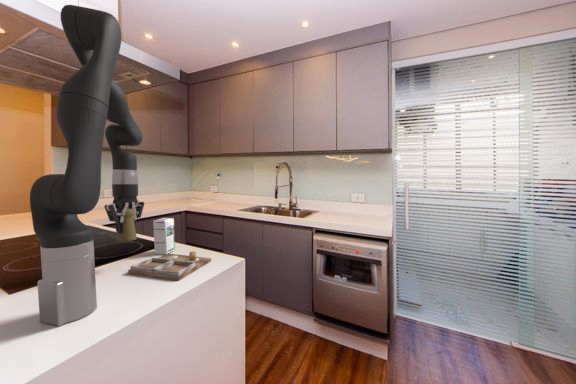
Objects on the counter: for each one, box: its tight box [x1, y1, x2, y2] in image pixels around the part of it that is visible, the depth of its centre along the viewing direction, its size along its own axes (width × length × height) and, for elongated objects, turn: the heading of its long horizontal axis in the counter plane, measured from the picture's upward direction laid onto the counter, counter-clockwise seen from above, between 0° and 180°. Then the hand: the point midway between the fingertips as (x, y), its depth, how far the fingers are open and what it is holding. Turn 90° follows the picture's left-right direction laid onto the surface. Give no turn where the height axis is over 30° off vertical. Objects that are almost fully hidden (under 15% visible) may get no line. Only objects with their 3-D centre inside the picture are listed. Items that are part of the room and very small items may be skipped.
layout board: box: [127, 251, 212, 281], centre depth 87 cm, size 18×20×4 cm
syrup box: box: [152, 217, 176, 255], centre depth 103 cm, size 6×6×14 cm
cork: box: [116, 209, 138, 243], centre depth 85 cm, size 6×6×11 cm
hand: (126, 231), depth 85 cm, fingers closed on cork, 4 cm apart
